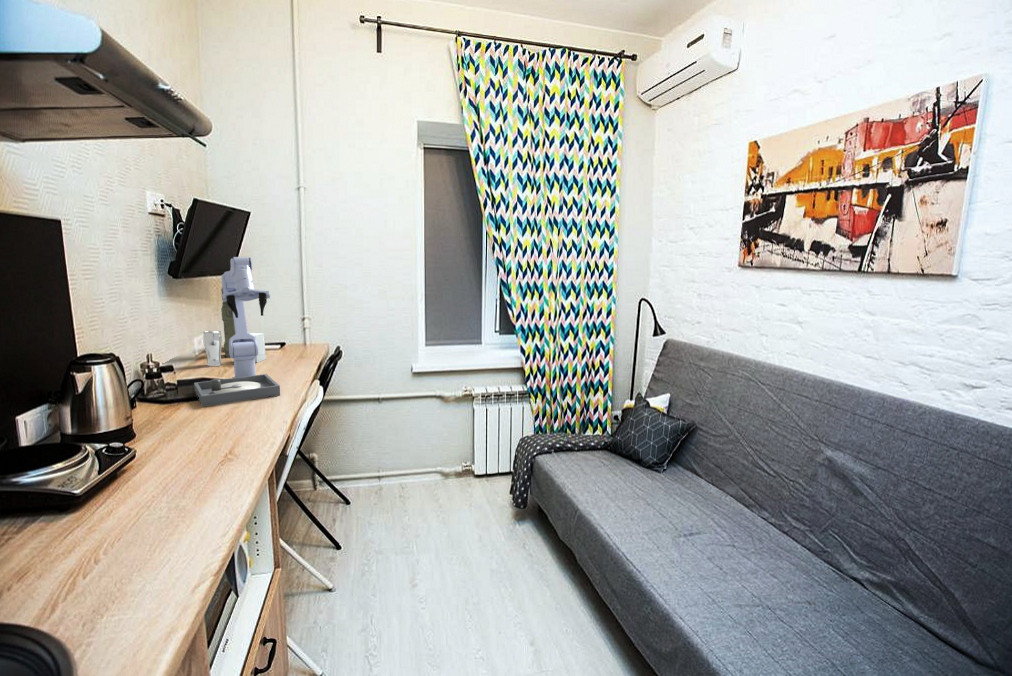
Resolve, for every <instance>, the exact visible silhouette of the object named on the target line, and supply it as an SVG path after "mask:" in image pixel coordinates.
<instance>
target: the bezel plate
mask: <svg viewBox="0 0 1012 676" xmlns="http://www.w3.org/2000/svg"><path fill="white" fill-rule="evenodd" d="M220 380H221V385H222V384H226V383H232V382H243V381H248V382H257V383H259V384H260V388H254V389H247V390H239V391H232V392H225V393H217V394H213V391H212V390H211V380H206V381H200V382H199V381H198V382H193V385H194V386H193V387H194V392H195V391H196V393H197V395H198V397H199V399H198V401H199V402H200V404H201V406H202V407H209V406H215V405H223V404H229V403H236V402H243V401H244V402H245V401H248V400H256V399H263V397H264V398H269V396H271V397H276V395H278V396H281V386H280V384H278V383H277V382H276V381H275V380H274V379H273V378H272V377H270V376H269V374H267V373H264V374H256V375H254V376H246V377H238V378H232V377H230V378H222V379H220ZM196 393H195V394H196ZM197 395H196V396H197ZM198 397H197V398H198Z"/></svg>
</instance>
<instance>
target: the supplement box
mask: <svg viewBox="0 0 1012 676" xmlns="http://www.w3.org/2000/svg"><path fill="white" fill-rule="evenodd" d="M248 333H249V334H251V335H253V336H255V338H256V340H257V343H258V355H257V356H256V357H255V364H256V363H260V362H262V361H266V360H267V359H266V358H267V357H266V356H267V355H266V342H265V333H260V332H259V333H258V332H248Z"/></svg>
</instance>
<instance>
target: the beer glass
mask: <svg viewBox="0 0 1012 676" xmlns="http://www.w3.org/2000/svg"><path fill="white" fill-rule="evenodd" d="M202 338H203V339H202V340H203V347H204V350H205V353H206V359H207V360H206V366H207V367H219V366H222V365H223V361H222V360H223V359H222V350H223V349H222V347H223V339H222V338H223V337H222V331H221V330H205V331H203V337H202Z"/></svg>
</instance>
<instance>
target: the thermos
mask: <svg viewBox="0 0 1012 676" xmlns="http://www.w3.org/2000/svg"><path fill="white" fill-rule="evenodd" d="M222 294H223V288H222V287H221V295H222ZM221 300H222V303H221V304H222V306H221V310H220V311H221V320H222V322H223V333H224V335H223V336H224V342H223V350H224V351H223V352H224V356H225V358H231V357H230V354H229V340H230V338H231V337H232V336H234V335H235V326H234V318H233V311H232V310H231V308H229V307H228V305H227V301H226V302H223V297H222V296H221Z"/></svg>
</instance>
